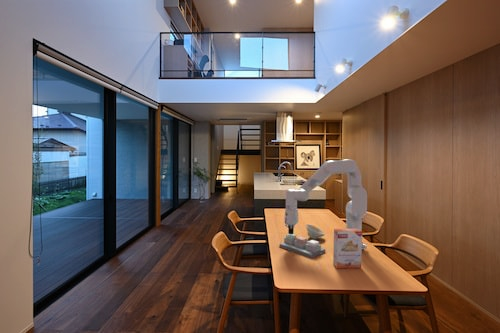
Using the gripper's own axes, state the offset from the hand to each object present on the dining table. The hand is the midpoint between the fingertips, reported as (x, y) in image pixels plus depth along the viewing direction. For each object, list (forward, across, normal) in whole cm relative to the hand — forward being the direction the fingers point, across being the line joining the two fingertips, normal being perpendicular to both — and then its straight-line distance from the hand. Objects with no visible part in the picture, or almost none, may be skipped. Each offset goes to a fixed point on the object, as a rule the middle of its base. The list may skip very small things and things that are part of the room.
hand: (290, 233), depth 176 cm
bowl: (+8, +25, -2) cm, 27 cm away
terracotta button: (+4, 0, -9) cm, 10 cm away
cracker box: (+8, -2, -42) cm, 43 cm away
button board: (+8, 0, -9) cm, 12 cm away
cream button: (+4, 0, -18) cm, 19 cm away
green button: (+4, 0, 0) cm, 4 cm away
